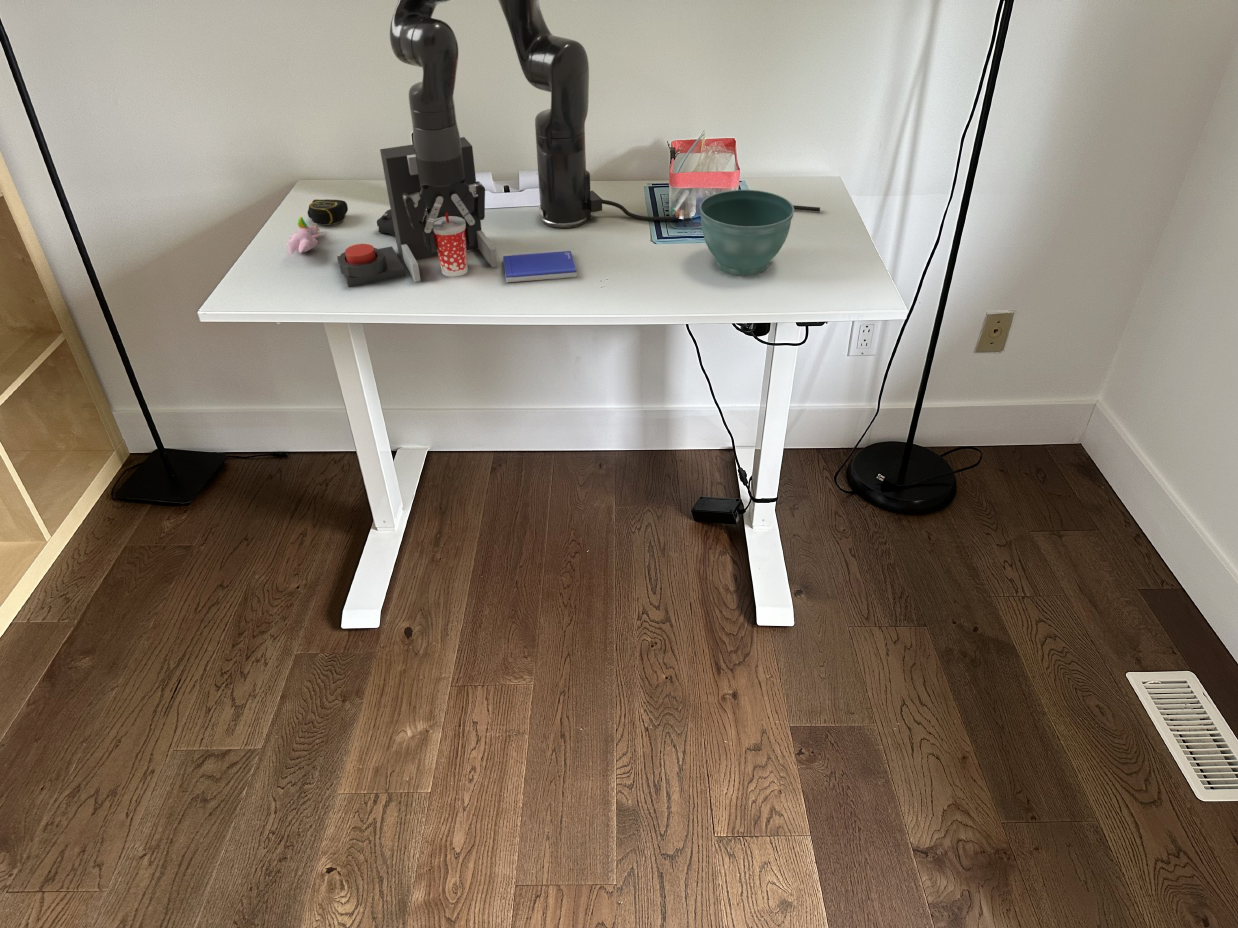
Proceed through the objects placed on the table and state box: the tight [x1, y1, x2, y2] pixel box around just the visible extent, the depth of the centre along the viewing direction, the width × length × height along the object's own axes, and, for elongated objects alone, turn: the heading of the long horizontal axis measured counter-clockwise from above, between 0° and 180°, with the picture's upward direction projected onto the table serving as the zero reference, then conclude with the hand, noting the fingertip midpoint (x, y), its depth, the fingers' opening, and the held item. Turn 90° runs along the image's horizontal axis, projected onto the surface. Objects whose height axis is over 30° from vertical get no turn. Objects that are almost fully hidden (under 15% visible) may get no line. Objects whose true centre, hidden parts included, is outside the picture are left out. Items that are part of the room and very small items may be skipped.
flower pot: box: [699, 189, 795, 276], centre depth 153 cm, size 16×16×11 cm
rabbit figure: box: [285, 216, 324, 255], centre depth 160 cm, size 6×6×15 cm
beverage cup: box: [432, 212, 469, 278], centre depth 150 cm, size 6×6×14 cm
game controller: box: [376, 208, 396, 238], centre depth 168 cm, size 10×5×6 cm
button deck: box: [336, 246, 406, 288], centre depth 154 cm, size 10×10×4 cm
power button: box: [344, 243, 376, 264], centre depth 151 cm, size 5×5×2 cm
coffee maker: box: [379, 136, 498, 283], centre depth 153 cm, size 15×14×19 cm
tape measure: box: [307, 199, 349, 226], centre depth 171 cm, size 7×7×4 cm
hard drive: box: [502, 250, 578, 283], centre depth 154 cm, size 2×8×12 cm
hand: (451, 246), depth 152 cm, fingers closed on beverage cup, 6 cm apart
